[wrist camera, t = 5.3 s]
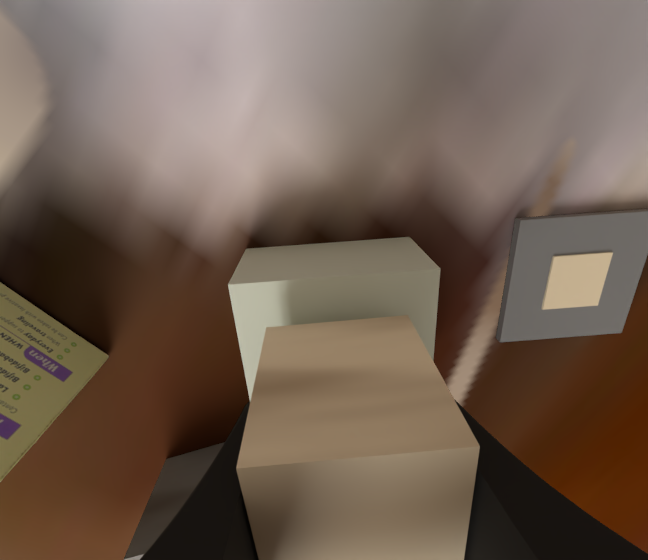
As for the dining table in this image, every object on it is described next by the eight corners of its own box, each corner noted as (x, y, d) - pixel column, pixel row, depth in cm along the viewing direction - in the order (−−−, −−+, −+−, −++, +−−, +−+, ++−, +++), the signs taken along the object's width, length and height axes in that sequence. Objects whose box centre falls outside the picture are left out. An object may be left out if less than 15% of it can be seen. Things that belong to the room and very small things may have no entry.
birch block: (405, 422, 13) (460, 585, 8) (283, 433, 13) (269, 603, 8) (407, 314, 11) (479, 446, 6) (266, 327, 11) (236, 468, 6)
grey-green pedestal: (402, 366, 18) (428, 427, 14) (267, 377, 18) (257, 441, 14) (407, 235, 15) (440, 268, 11) (247, 246, 15) (227, 284, 11)
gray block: (271, 488, 21) (262, 589, 16) (202, 507, 21) (174, 611, 17) (241, 436, 19) (220, 533, 14) (166, 458, 19) (123, 559, 15)
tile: (614, 328, 17) (623, 333, 17) (495, 337, 17) (501, 343, 17) (653, 208, 15) (664, 210, 14) (515, 218, 15) (522, 220, 14)
